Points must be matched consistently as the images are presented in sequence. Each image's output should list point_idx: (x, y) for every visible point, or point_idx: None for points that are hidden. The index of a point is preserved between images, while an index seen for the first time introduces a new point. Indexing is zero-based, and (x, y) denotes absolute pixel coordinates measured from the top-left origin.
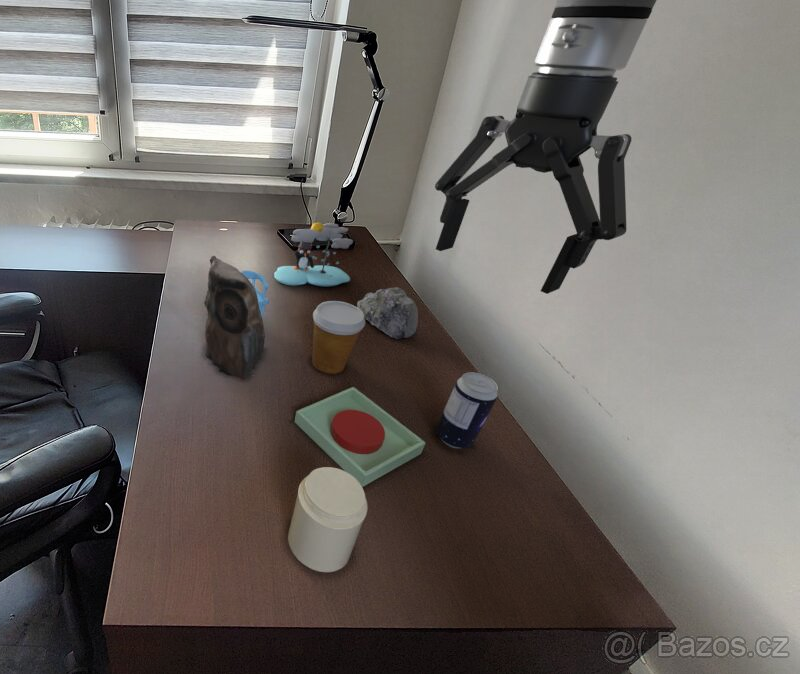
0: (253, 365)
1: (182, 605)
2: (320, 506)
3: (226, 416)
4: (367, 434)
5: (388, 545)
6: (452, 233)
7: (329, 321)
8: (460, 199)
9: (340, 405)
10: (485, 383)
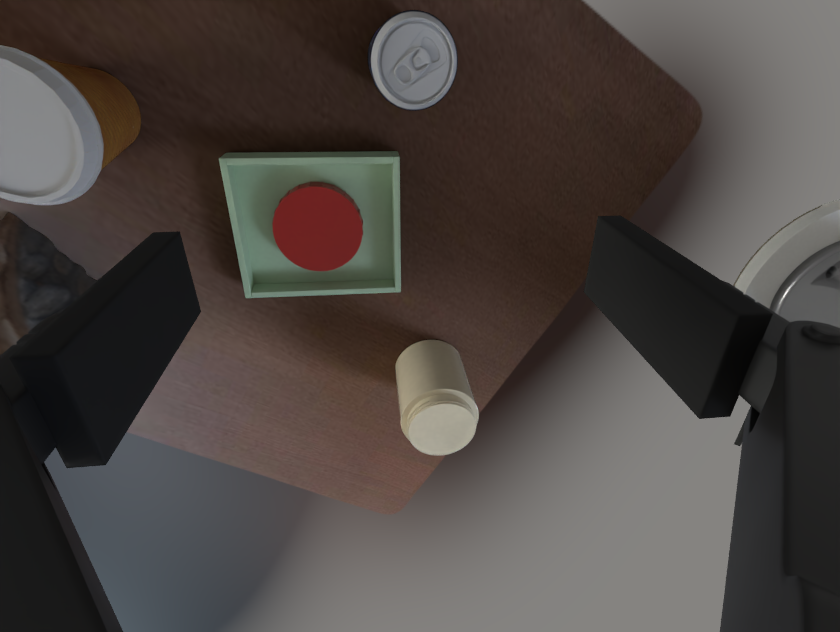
0: (81, 276)
1: (412, 481)
2: (449, 452)
3: (203, 365)
4: (338, 229)
5: (472, 309)
6: (162, 303)
7: (56, 199)
8: (30, 396)
9: (244, 195)
10: (424, 52)
